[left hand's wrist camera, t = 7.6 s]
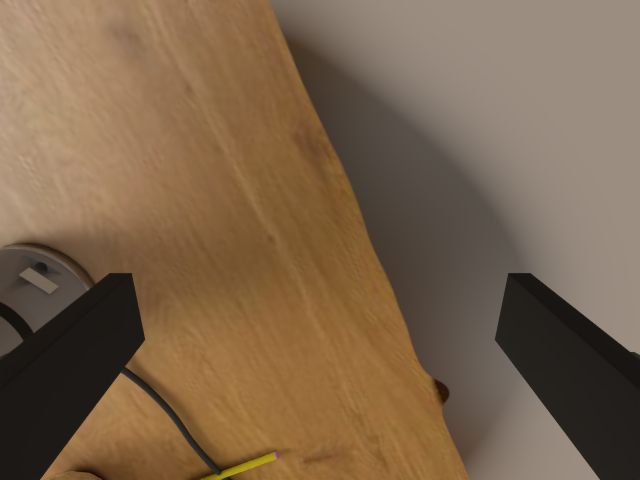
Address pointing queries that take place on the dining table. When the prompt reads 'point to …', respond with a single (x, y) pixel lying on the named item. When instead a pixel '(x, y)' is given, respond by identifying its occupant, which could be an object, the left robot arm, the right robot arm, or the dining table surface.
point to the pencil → (243, 466)
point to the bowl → (74, 476)
